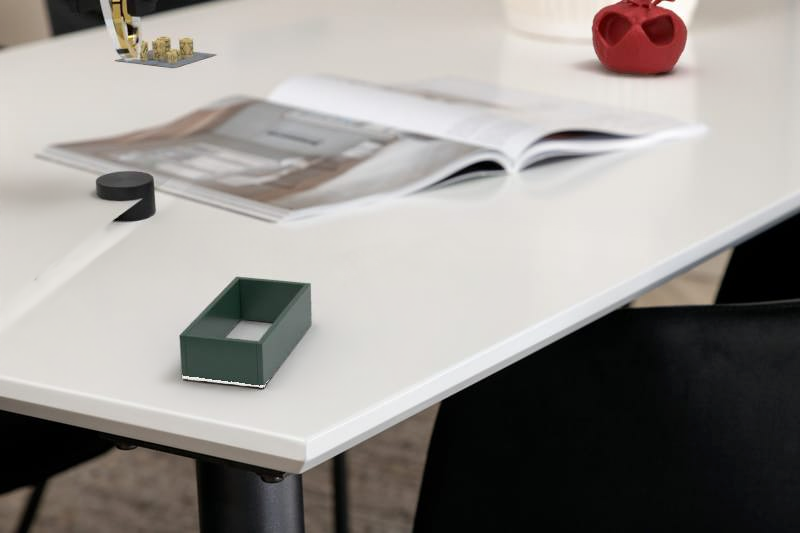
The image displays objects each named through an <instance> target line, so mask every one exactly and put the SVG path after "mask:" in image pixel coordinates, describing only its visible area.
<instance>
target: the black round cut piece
mask: <svg viewBox="0 0 800 533" xmlns="http://www.w3.org/2000/svg"><path fill="white" fill-rule="evenodd" d="M95 192H96V196H97V197H98V198H99V199H102V200H105V201H110V202H130V201H131V202H132V201H137V202H136V203H135V204H133V205H131V206H130V207H129V208H127V209H126V210H125V211H123V212H122V213H120V214H119V215H117V217H115V218H114V219H112V222H135V221H141V220H144V219H148V218H150V217H152V216H154V215H155V214H156V211H157V207H156V193H155V178H154V176H153V175H152V174H150V173H148V172H144V171H138V170H122V171H114V172H108V173H105V174H102V175H100V176H98V177H97V178H96V179H95Z"/></svg>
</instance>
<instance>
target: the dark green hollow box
mask: <svg viewBox="0 0 800 533" xmlns="http://www.w3.org/2000/svg"><path fill="white" fill-rule="evenodd" d="M241 320H245V321H255V322H266V323H271V325H270V326H269V328H267V330H266V331H265V332H264V333H263V335H262V336H261V337H260V338H259V340H253V339H251V340H250V339H241V338H232V337H227V336H228V335H229V334H230V333H231V331H232V330H233V329H234V328H235V327H236V326H237V325H238V324H239V322H240V321H241ZM312 320H313V319H312V283H310V282H301V281H290V280H279V279H270V278H269V279H268V278H258V277H257V278H256V277H248V276H247V277H245V276H235V277H234V278H233V280H231V281H230V283H228V284H227V286H226V287H224V289H223V290H222V291H220V293H219V294H218V295H217V296H216V297H215V298H214V299H213V300H212V301H211V302H210V303H209V304H208V305H207V306H206V307H205V308H204V309H203V310H202V311H201V312H200V313H199V314H198V315H197V317H196V318H194V320H192V321H191V323H190V324H189V325H188V326H187V327H186V328H185V329H184V330H183V331H182V332H181V333H180V334H179V336H178V337H179V351H180V353H179V354H180V367H181V368H180V369H181V376H182V375H183V376H189V377H199V378H205V379H212V380H221V381H228V382H231V381H232V382H239V383H245V384H251V385H259V386H260V385H265V384H266V382H267V381H268V380H269V379H270V378H271V377H272V375H273V376H275V374H276V373H277V371H278V370H279V369H280V367H281V366H282V365H283V363H284V362H285V360H286V359H287V358H288V357H289V355H290V354H291V353H292V351H293V349H294V348H295V347H297V345H298V343H299V342H300V341H301V339H302V338H303V337H304V335H305V334H306V332H307V331H308V330H309V329H310V327H311V326H312V323H313V322H312ZM278 368H279V369H278ZM275 372H276V373H275ZM274 373H275V374H274ZM272 378H273V377H272ZM272 378H271V379H272ZM271 379H270V380H271Z"/></svg>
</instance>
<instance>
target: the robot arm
mask: <svg viewBox="0 0 800 533" xmlns="http://www.w3.org/2000/svg"><path fill="white" fill-rule="evenodd" d="M157 2H159V0H126V4H127V13H128V14H129V15H130V16H131V17H140V18H141V17H142V16H145V15H147V14H150V13H152V12H154V11H155V10H156V8H157ZM68 3H69V12H70V13H71V14H72V15H82V14H84V13H85V14H86V13H87V12H91V11H93V10H96V9H97V8H99V7H101V3H100V0H68Z"/></svg>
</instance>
